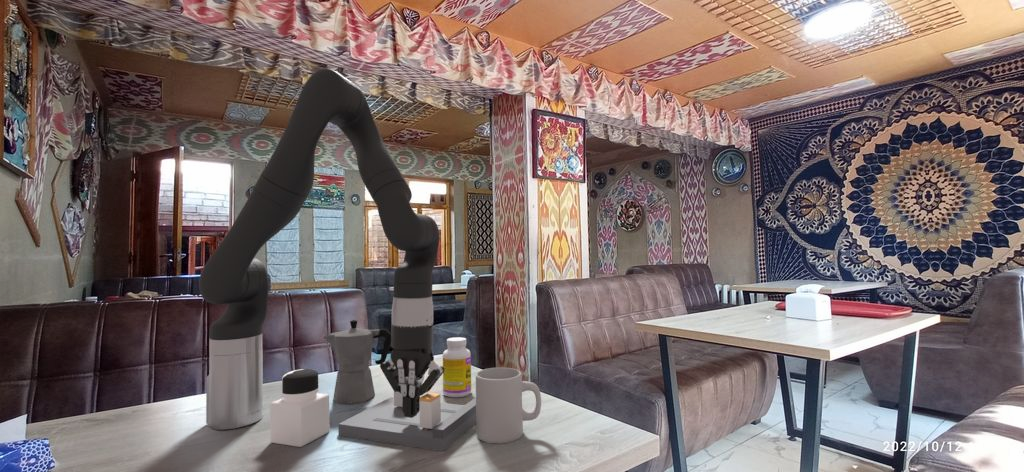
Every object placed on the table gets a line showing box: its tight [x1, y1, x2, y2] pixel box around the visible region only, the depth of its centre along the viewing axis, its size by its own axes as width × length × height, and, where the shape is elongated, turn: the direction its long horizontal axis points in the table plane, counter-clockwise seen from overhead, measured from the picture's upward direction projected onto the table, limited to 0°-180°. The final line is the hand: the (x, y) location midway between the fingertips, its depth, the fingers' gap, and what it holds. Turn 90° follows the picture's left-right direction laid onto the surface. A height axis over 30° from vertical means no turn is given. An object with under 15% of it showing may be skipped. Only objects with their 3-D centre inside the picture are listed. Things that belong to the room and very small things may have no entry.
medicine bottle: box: [269, 368, 330, 448], centre depth 82 cm, size 7×7×12 cm
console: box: [337, 396, 476, 452], centre depth 86 cm, size 22×16×4 cm
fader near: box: [419, 392, 441, 429], centre depth 80 cm, size 2×3×5 cm
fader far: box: [393, 390, 403, 407], centre depth 92 cm, size 2×3×5 cm
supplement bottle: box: [442, 336, 472, 398], centre depth 105 cm, size 7×7×13 cm
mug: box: [475, 367, 542, 444], centre depth 81 cm, size 12×8×11 cm
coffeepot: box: [323, 319, 391, 405], centre depth 104 cm, size 15×9×18 cm, turn 100°
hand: (411, 415), depth 82 cm, fingers closed
